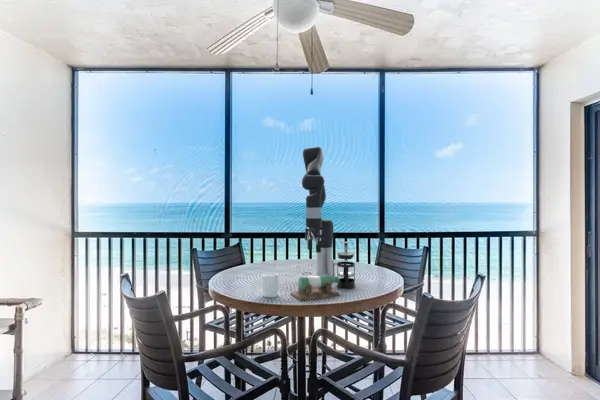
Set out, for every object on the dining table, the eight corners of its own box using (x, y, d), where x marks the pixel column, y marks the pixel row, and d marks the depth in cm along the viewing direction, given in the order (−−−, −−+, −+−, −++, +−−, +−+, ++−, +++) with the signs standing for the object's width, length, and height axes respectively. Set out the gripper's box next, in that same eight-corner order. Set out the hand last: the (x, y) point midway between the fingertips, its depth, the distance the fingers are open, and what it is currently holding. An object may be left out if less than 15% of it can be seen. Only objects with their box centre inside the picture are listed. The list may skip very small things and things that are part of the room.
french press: (355, 284, 174) (355, 240, 174) (357, 288, 165) (357, 243, 165) (333, 283, 175) (332, 240, 175) (334, 288, 166) (333, 243, 166)
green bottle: (333, 282, 163) (334, 271, 162) (339, 288, 158) (341, 276, 157) (297, 287, 155) (298, 274, 154) (303, 293, 150) (304, 280, 149)
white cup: (262, 293, 158) (262, 272, 158) (278, 292, 159) (278, 272, 159) (261, 298, 150) (261, 276, 150) (279, 297, 151) (278, 276, 151)
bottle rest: (327, 289, 164) (327, 277, 164) (339, 295, 154) (339, 282, 154) (290, 294, 156) (290, 281, 156) (300, 301, 146) (300, 287, 146)
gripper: (328, 217, 152) (328, 252, 152) (313, 216, 165) (314, 248, 165) (313, 218, 148) (314, 254, 149) (300, 216, 161) (300, 249, 162)
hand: (314, 251), depth 157 cm, fingers open, 8 cm apart
